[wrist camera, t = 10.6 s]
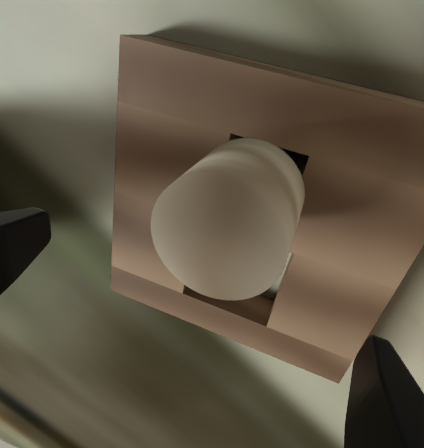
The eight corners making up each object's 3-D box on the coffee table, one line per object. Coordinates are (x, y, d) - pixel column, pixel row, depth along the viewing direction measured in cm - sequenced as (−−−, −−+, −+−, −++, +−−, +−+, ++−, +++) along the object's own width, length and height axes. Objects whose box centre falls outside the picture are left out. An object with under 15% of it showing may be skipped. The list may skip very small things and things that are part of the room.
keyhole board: (340, 352, 24) (338, 383, 21) (129, 269, 27) (110, 289, 25) (476, 114, 15) (495, 126, 13) (146, 34, 18) (120, 34, 16)
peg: (220, 187, 21) (145, 271, 13) (237, 106, 18) (157, 154, 11) (299, 213, 20) (264, 319, 12) (328, 130, 17) (308, 202, 10)
